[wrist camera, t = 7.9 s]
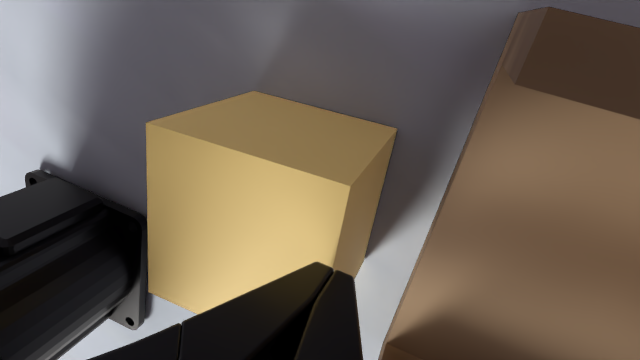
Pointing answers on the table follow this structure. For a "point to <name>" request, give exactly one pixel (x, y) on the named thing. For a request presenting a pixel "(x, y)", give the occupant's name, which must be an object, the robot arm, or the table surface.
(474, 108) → the table surface
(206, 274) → the ochre cube
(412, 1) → the table surface
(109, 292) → the robot arm
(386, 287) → the table surface
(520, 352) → the walnut cubby
